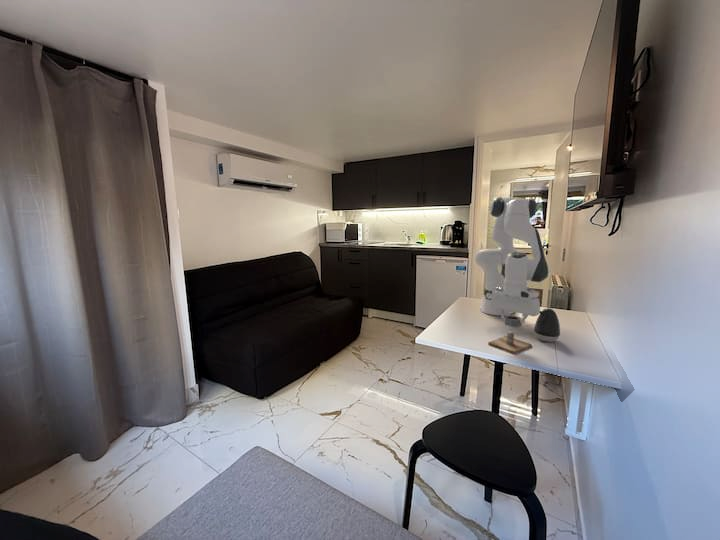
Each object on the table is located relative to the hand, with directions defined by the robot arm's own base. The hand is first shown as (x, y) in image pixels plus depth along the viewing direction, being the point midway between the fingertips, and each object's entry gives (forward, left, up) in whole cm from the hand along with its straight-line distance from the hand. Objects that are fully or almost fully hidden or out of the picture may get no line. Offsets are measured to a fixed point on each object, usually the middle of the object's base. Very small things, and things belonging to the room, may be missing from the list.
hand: (512, 320), depth 129 cm
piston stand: (0, 0, -12) cm, 12 cm away
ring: (0, 0, -2) cm, 2 cm away
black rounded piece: (-20, +6, -12) cm, 24 cm away
